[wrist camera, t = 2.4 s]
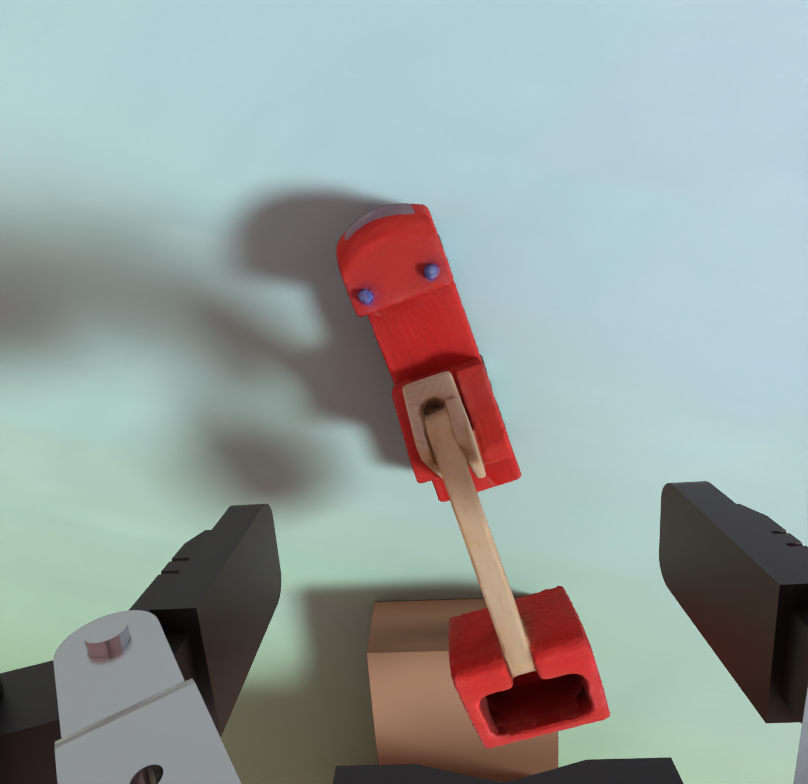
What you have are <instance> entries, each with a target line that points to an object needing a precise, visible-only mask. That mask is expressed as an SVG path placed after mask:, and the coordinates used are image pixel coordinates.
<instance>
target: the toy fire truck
mask: <svg viewBox="0 0 808 784" xmlns="http://www.w3.org/2000/svg"><path fill="white" fill-rule="evenodd" d="M336 253H337V261H338V265H339V269H340V273H341V276H342V279H343V282H344V284H345V287H346V289H347V292H348V295H349V297H350V300H351V302H352V305H353V308H354V310H355V312H356V314H357V315H358V316H360V317H363V316H365V315H368V318H369V320H370V323H371V325H372V328H373V331H374V334H375V337H376V339H377V342H378V344H379V346H380V349H381V351H382V354H383V356H384V359H385V361H386V364H387V367H388V369H389V372H390V374H391V376H392V379H393V382H394V384H395V385H394V387H393V390H392V397H393V401H394V405H395V408H396V412H397V416H398V419H399V422H400V426H401V429H402V433H403V435H404V440H405V443H406V447H407V451H408V455H409V458H410V462H411V464H412V468H413V470H414V473H415V476H416V479H417V482H418V483H425V482H427V481H431V480H432V482H433V485H434V487H435V490H436V493H437V496H438V500H440V501H442V502H446V501H449V500H450V501H451V504H452V507H453V510H454V513H455V516H456V519H457V521H458V524H459V527H460V530H461V532H462V535H463V538H464V541H465V544H466V547H467V550H468V553H469V555H470V558H471V562H472V564H473V567H474V570H475V573H476V576H477V579H478V582H479V585H480V588H481V591H482V593H483V596H484V599H485V602H486V605H487V608H483V609H479V610H476V611H472V612H470V613H463V614H462V615H460V616H454V617H452V618H450V620H449V631H448V635H449V637H448V638H449V645H448V648H449V663H450V670H451V677H452V680H453V683H454V687H455V689H456V691H457V692H458V694H459V697H460V699H461V701H462V703H463V705H464V708H465V710H466V712H467V714H468V716H469V719H470V720H471V721H472V726H473V727H474V728H475V730H476V732H477V733H478V736H479V738H480V740H481V742H482V744H483V746H484V747H485V748H493V747H497V746H502V745H506V744H509V743H513V742H517V741H521V740H525V739H530V738H533V737H536V736H540V735H544V734H549V733H552V732H556V731H560V730H565V729H569V728H573V727H577V726H580V725H583V724H588V723H594V722H596V721H601V720H604V719H606V718H608V717H609V716H610V712H609V709H608V705H607V700H606V697H605V693H604V688H603V686H602V681H601V678H600V675H599V672H598V669H597V665H596V662H595V659H594V655H593V652H592V649H591V646H590V643H589V640H588V638H587V636H586V633H585V630H584V628H583V625H582V623H581V622H580V620H579V616H578V614H577V613H576V611H575V609H574V607H573V605H572V602H571V601H570V599H569V597H568V595H567V593H566V591H565V589H564V588H563V587H562V586H557V587H556V588H553V589H545V590H543V591H541V592H539V593H534V594H531V595H530V596H525V597H519V598H517V599H516V600H514V597H513V594H512V591H511V588H510V585H509V583H508V580H507V577H506V574H505V571H504V569H503V566H502V563H501V560H500V557H499V554H498V552H497V549H496V546H495V543H494V540H493V537H492V534H491V531H490V529H489V526H488V523H487V520H486V517H485V514H484V511H483V509H482V506H481V503H480V500H479V497H478V494H477V492H479V491H482V490H485V489H488V488H491V487H495V486H498V485H501V484H504V483H508V482H511V481H513V480H516V479H519V478H520V476H521V472H520V469H519V466H518V463H517V461H516V458H515V455H514V452H513V450H512V447H511V444H510V441H509V438H508V435H507V432H506V428H505V424H504V422H503V419H502V416H501V413H500V411H499V407H498V405H497V402H496V400H495V397H494V395H493V392H492V386H491V383H490V379H489V376H488V373H487V370H486V367H485V364H484V361H483V358H482V356H481V355H480V354H479V352H478V347H477V345H476V342H475V339H474V336H473V333H472V330H471V328H470V325H469V322H468V319H467V316H466V313H465V311H464V308H463V305H462V302H461V299H460V297H459V294H458V291H457V288H456V285H455V282H454V281H453V275H452V273H451V270H450V267H449V264H448V260H447V257H446V254H445V252H444V249H443V246H442V243H441V240H440V237H439V235H438V233H437V231H436V228H435V225H434V223H433V220H432V217H431V215H430V212H429V210H428V208H427V207H426V206H425V205H419V204H393V205H387V206H383V207H380V208H377V209H374V210H372V211H370V212H368V213H366V214H364V215H363V216H362V217H360V218H359V219H358V220H356V221H355V222H354V223H353V224H352V225H351V226H350V227H349V228H348V229H347V231H346V232H345V233H344V234H343V236H342V237H341V238H340V240H339V242H338V244H337V251H336Z"/></svg>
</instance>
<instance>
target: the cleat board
mask: <svg viewBox="0 0 808 784" xmlns="http://www.w3.org/2000/svg"><path fill="white" fill-rule="evenodd" d="M517 598H519V597H516V598H514V600H516V599H517ZM483 608H487V605H486V602H485V599H455V600H424V601H393V602H374V609H373V615H372V622H371V628H370V635H369V641H368V648H367V661H368V671H369V681H370V690H371V700H372V710H373V719H374V729H375V738H376V748H377V758H378V765H402V764H418V765H423V766H427V767H432V768H436V769H441V770H446V771H450V772H455V773H460V774H464V775H469V776H473V777H478V778H483V779H487V780H492V781H498V782H508V781H513V780H517V779H520V778H524V777H527V776H531V775H534V774H538V773H541V772H545V771H548V770H552V769H556V768H558V731H556V732H552V733H549V734H544V735H540V736H536V737H533V738H530V739H525V740H521V741H517V742H513V743H509V744H506V745H502V746H497V747H493V748H485V747H484V746H483V744H482V742H481V740H480V738H479V736H478V733H477V732H476V730H475V728H474V727H473V726H472V721H471V720H470V719H469V716H468V714H467V712H466V710H465V708H464V705H463V703H462V701H461V699H460V697H459V694H458V692H457V691H456V689H455V687H454V683H453V680H452V677H451V670H450V663H449V648H448V645H449V638H448V637H449V635H448V631H449V620H450V618H452V617H454V616H460V615H462V614H463V613H470V612H472V611H476V610H479V609H483Z"/></svg>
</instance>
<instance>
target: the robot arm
mask: <svg viewBox="0 0 808 784" xmlns="http://www.w3.org/2000/svg"><path fill="white" fill-rule="evenodd" d="M659 562H660V568H661V572H662V576H663V579H664V581H665V583H666V585H667V587H668V589H669V590H670V592H671V593H672V594H673V596H674V597H675V598H676V600H677V601H678V603H679V604H680V605H681V607H682V608H683V609H684V611H685V612H686V614H687V615H688V616H689V618H690V619H691V620H692V622H693V623H694V625H695V626H696V627H697V629H698V630H699V631H700V633H701V634H702V636H703V637H704V638H705V640H706V641H707V643H708V644H709V645H710V647H711V648H712V649H713V651H714V652H715V654H716V655H717V656H718V658H719V659H720V660H721V662H722V663H723V665H724V666H725V667H726V669H727V670H728V671H729V673H730V674H731V676H732V677H733V678H734V680H735V681H736V682H737V684H738V685H739V687H740V688H741V689H742V691H743V692H744V693H745V695H746V696H747V698H748V699H749V700H750V702H751V703H752V705H753V706H754V707H755V709H756V710H757V711H758V713H759V714H760V716H761V717H762V718H763V720H764V721H765V722H766V723H790V722H801V724H802V729H801V736H800V743H799V750H798V756H797V763H796V770H795V777H794V784H808V547H807V546H802V542H800V541H799V540H798V539H796V538H795V537H794V536H792V535H791V534H790V533H788V534H787V533H786V530H785V529H783V528H782V527H781V526H779V525H778V524H777V523H776V522H774V521H773V520H772V519H770V518H769V517H768V516H766V515H764V514H761V513H759V512H757V511H754V510H752V509H750V508H748V507H745V506H743V505H741V504H736V503H734V502H733V501H732V500H731V499H729V498H728V497H727V496H726V495H724V494H723V493H722V492H721V491H719V490H718V489H717V488H716V487H714V486H713V485H712V484H711V483H709V482H707V481H701V482H682V483H667V484H666V485H665V486H664V488H663V490H662V496H661V518H660V543H659ZM280 591H281V570H280V563H279V556H278V549H277V542H276V535H275V528H274V521H273V515H272V511H271V508H270V506H269V505H268V504H253V505H235V506H230V507H229V508H228V510H227V511H226V512H225V514H224V515H223V516H222V517H221V519H220V520H219V521H218V523H217V524H216V525H215V526H214V528H213V529H212V530H205V531H203V532H202V533H200V534H199V535H197V536H196V537H194V538H193V539H191V540H190V541H188V542H186V543H185V544H184V545H183V546H182V547H181V549H180V550H179V551H178V552H177V553H176V555H175V556H174V557H173V558H172V562H169V563H168V564H167V565H166V567H165V568H164V569H163V570H162V571H161V575H158V576H157V577H156V578H155V580H154V581H153V582H152V583H151V584H150V586H149V587H148V588H147V589H146V590H145V592H144V593H143V594H142V595H141V596H140V598H139V599H138V600H137V601H136V602H135V604H134V605H133V606H132V607H131V608H130V610H129V611H122V612H117V613H113V614H109V615H106V616H103V617H101V618H98V619H96V620H94V621H92V622H90V623H88V624H86V625H84V626H82V627H81V628H79V629H77V630H76V631H75V632H73V633H72V634H71V635H69V636H68V637H67V638H66V639H65V640H64V641H63V642H62V643H61V644H60V646H59V647H58V649H57V650H56V652H55V655H54V660H53V661H49V662H45V663H41V664H37V665H33V666H29V667H25V668H21V669H17V670H13V671H9V672H5V673H1V674H0V784H241V782H240V779H239V777H238V775H237V773H236V771H235V768H234V766H233V764H232V762H231V760H230V758H229V755H228V753H227V751H226V749H225V747H224V744H223V742H222V740H221V738H220V737H221V736H222V733H223V731H224V729H225V726H226V724H227V721H228V719H229V717H230V714H231V712H232V710H233V707H234V705H235V703H236V700H237V698H238V696H239V693H240V691H241V689H242V686H243V684H244V682H245V679H246V677H247V675H248V672H249V670H250V668H251V665H252V663H253V660H254V658H255V656H256V653H257V651H258V649H259V646H260V644H261V642H262V639H263V637H264V635H265V632H266V630H267V628H268V625H269V623H270V621H271V618H272V616H273V614H274V611H275V609H276V607H277V604H278V601H279V597H280ZM333 784H683V782H682V780H681V778H680V775H679V773H678V771H677V769H676V767H675V765H674V763H673V761H672V759H671V758H637V759H597V760H584V761H580V762H577V763H573V764H570V765H566V766H563V767H559V768H556V769H552V770H548V771H545V772H541V773H538V774H534V775H531V776H527V777H524V778H520V779H517V780H513V781H508V782H498V781H492V780H487V779H483V778H478V777H473V776H469V775H464V774H460V773H455V772H450V771H446V770H441V769H436V768H432V767H427V766H423V765H418V764H402V765H363V766H336V770H335V776H334V782H333Z"/></svg>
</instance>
